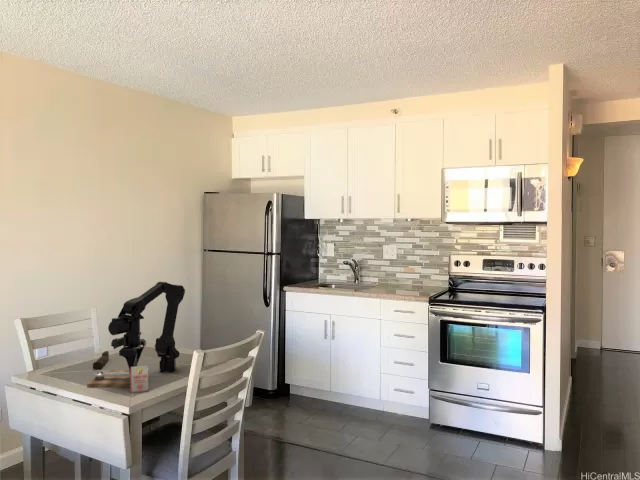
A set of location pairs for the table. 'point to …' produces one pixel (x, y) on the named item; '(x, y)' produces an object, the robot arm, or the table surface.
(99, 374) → the lever
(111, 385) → the lever board
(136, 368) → the white red carton
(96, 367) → the hand tool
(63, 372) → the table surface
